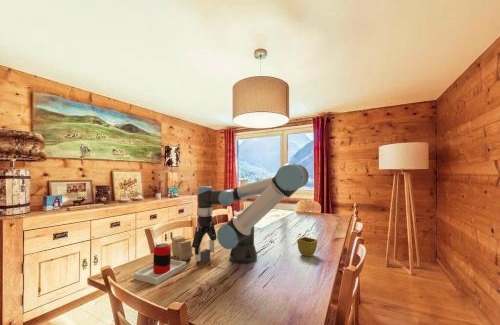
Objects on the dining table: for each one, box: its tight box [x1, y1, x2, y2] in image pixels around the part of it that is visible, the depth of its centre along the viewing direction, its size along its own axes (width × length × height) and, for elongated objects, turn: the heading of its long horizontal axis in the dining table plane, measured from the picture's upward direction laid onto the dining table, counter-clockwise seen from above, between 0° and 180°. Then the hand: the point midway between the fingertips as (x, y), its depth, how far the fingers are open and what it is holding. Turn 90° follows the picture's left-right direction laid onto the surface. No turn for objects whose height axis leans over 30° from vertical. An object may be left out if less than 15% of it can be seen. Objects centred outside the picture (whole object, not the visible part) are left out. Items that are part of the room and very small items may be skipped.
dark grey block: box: [196, 248, 211, 265], centre depth 120 cm, size 5×5×6 cm
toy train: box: [171, 235, 194, 262], centre depth 126 cm, size 6×17×10 cm, turn 39°
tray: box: [133, 258, 187, 286], centre depth 107 cm, size 13×19×2 cm
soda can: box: [152, 242, 172, 274], centre depth 107 cm, size 8×8×12 cm
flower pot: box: [296, 236, 318, 258], centre depth 131 cm, size 9×9×9 cm
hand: (205, 256), depth 120 cm, fingers open, 12 cm apart
